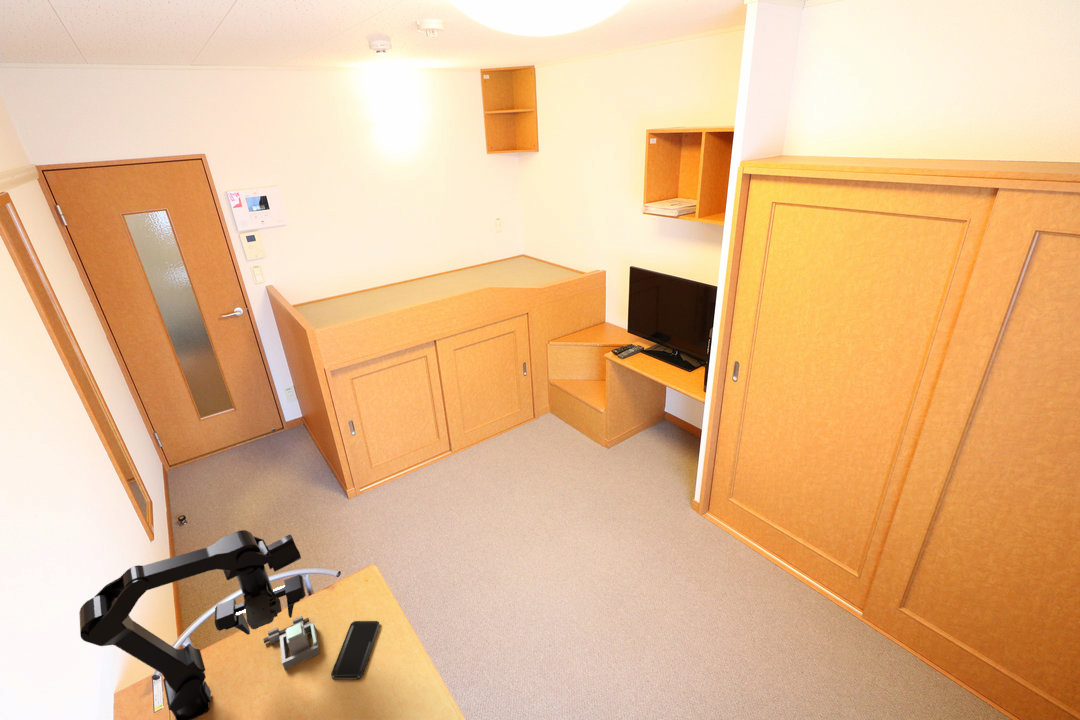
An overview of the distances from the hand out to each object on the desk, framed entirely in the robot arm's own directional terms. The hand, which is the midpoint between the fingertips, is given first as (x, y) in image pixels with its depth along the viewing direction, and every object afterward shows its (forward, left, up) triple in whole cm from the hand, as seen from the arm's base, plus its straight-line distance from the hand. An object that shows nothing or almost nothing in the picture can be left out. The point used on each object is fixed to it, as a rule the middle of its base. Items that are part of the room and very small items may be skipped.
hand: (270, 624), depth 122 cm
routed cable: (+2, +5, -11) cm, 12 cm away
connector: (+4, -1, -11) cm, 12 cm away
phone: (+17, -9, -11) cm, 22 cm away
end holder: (+4, -1, -11) cm, 12 cm away
